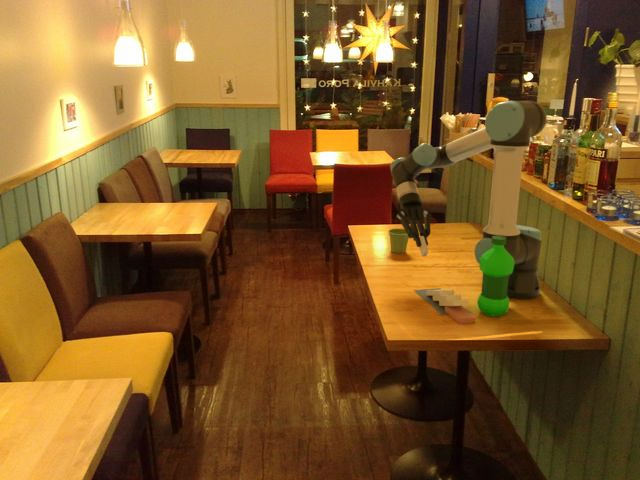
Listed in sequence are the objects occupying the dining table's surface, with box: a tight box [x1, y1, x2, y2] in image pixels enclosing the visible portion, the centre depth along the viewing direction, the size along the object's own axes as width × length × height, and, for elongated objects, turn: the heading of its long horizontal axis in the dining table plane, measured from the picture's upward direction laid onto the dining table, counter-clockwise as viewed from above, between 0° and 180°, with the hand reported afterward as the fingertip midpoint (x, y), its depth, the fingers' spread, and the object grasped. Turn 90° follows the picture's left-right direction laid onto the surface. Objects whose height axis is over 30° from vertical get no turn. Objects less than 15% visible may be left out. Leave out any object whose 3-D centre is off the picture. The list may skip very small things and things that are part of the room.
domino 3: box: [439, 299, 470, 306], centre depth 190 cm, size 2×5×10 cm
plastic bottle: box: [477, 236, 514, 317], centre depth 187 cm, size 10×10×25 cm
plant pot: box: [387, 228, 410, 254], centre depth 251 cm, size 9×9×9 cm
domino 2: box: [433, 294, 462, 301], centre depth 194 cm, size 2×5×10 cm
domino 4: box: [444, 305, 476, 324], centre depth 186 cm, size 2×5×10 cm
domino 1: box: [426, 289, 455, 296], centre depth 199 cm, size 2×5×10 cm
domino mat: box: [413, 287, 472, 316], centre depth 198 cm, size 22×10×1 cm, turn 15°
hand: (425, 254), depth 209 cm, fingers closed
